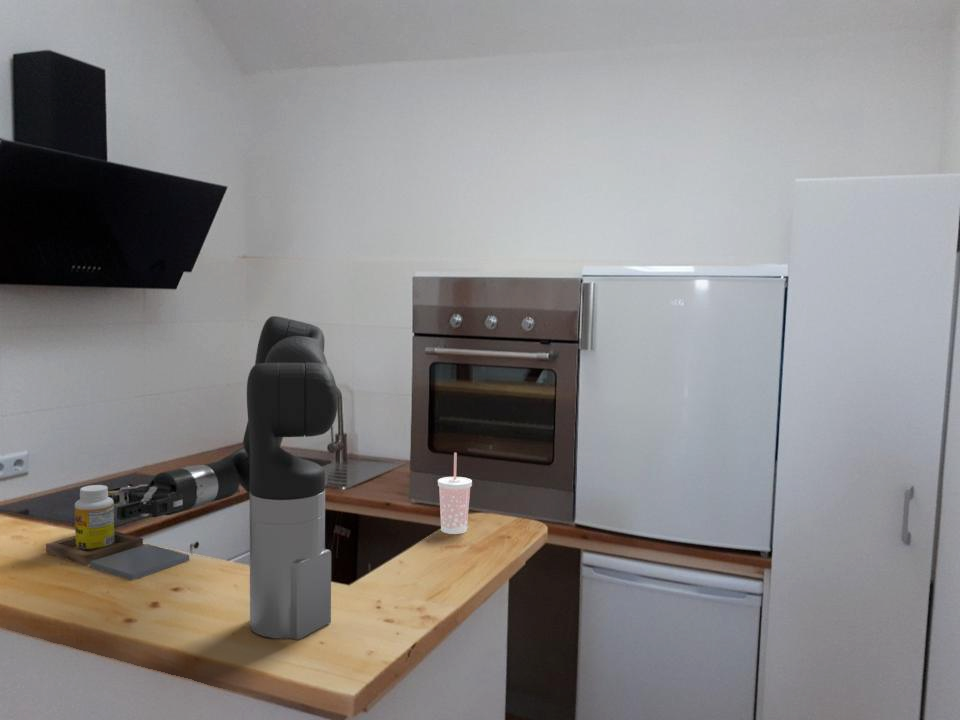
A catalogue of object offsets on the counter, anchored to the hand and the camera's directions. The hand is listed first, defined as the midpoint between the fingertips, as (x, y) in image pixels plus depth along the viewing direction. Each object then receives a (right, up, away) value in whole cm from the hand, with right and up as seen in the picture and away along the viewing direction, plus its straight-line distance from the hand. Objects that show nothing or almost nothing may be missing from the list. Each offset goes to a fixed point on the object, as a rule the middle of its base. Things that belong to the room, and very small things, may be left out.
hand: (101, 509), depth 126 cm
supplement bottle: (-1, -7, 0) cm, 7 cm away
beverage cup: (+56, -7, +14) cm, 58 cm away
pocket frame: (-1, -6, 0) cm, 7 cm away
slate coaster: (+9, -7, -6) cm, 13 cm away
